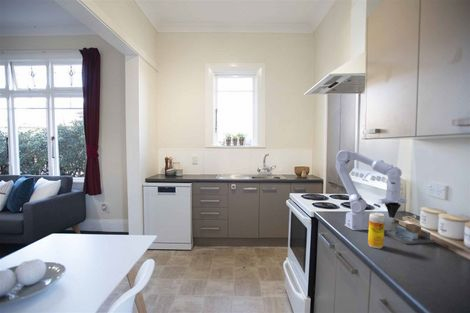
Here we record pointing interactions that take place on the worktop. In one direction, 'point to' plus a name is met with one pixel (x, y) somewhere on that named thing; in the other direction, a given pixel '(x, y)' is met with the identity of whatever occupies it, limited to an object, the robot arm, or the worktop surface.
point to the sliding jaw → (407, 232)
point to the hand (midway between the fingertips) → (391, 217)
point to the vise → (423, 239)
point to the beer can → (376, 230)
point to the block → (414, 228)
